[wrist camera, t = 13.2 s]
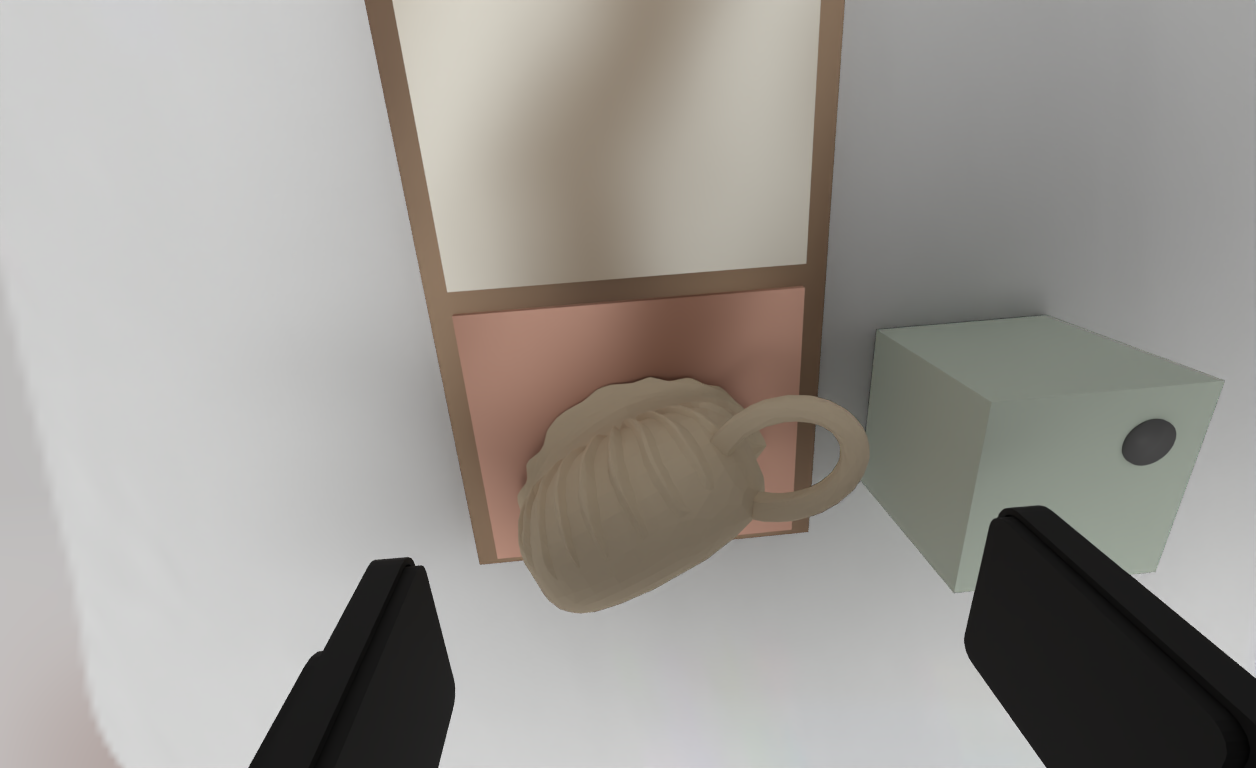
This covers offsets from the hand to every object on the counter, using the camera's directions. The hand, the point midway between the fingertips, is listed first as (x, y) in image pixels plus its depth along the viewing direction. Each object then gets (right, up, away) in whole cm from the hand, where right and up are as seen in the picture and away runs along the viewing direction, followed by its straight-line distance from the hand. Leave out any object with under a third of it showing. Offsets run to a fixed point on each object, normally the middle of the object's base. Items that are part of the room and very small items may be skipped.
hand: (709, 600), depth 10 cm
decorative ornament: (-1, +2, +6) cm, 7 cm away
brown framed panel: (-1, +6, +6) cm, 9 cm away
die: (+8, +3, +8) cm, 12 cm away
